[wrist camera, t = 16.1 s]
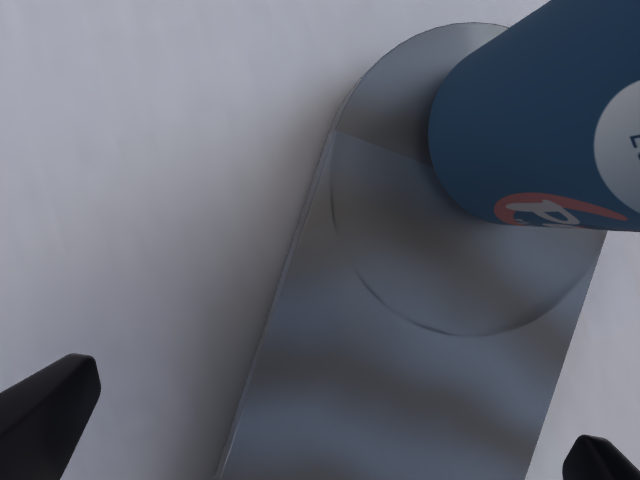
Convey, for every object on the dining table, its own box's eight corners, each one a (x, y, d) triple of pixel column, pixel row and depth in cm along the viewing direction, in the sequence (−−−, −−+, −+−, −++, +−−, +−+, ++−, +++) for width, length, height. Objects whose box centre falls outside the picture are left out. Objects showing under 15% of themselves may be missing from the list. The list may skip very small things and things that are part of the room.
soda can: (447, 249, 19) (816, 317, 7) (390, 85, 18) (702, -165, 6) (586, 189, 20) (1118, 157, 8) (539, 31, 19) (1058, -272, 7)
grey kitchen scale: (438, 594, 23) (471, 657, 20) (185, 549, 20) (175, 614, 17) (600, 108, 23) (660, 91, 20) (366, 2, 20) (391, -37, 17)
